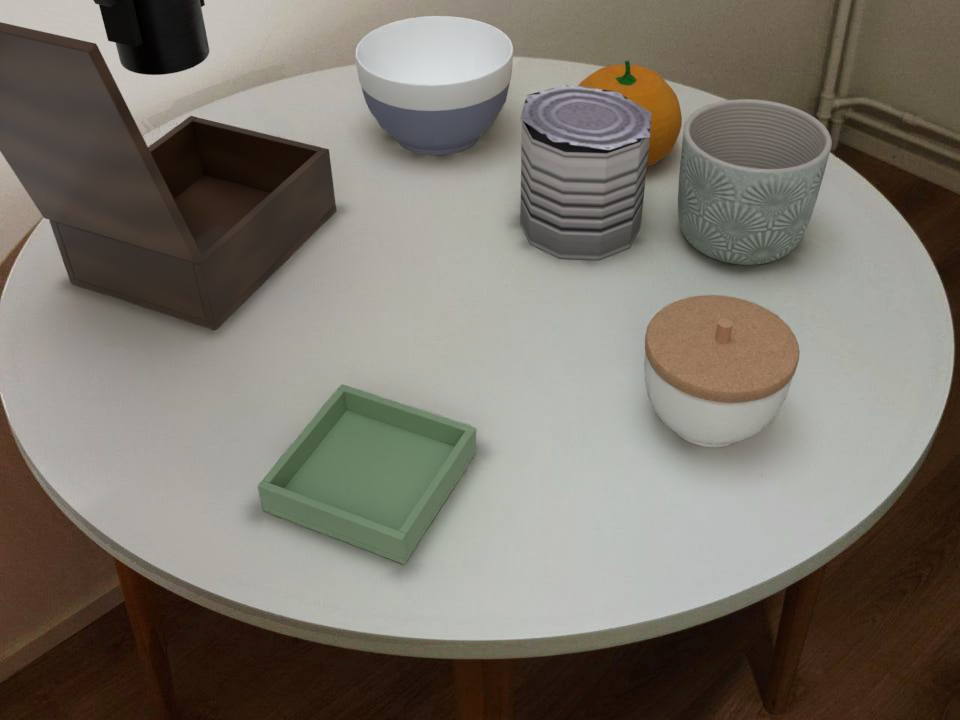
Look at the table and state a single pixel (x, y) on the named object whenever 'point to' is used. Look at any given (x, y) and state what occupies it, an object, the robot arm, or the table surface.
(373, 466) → the tray
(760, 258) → the planter
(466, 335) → the table surface
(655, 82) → the fruit
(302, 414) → the table surface
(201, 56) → the black canister
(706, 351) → the trinket box
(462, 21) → the bowl
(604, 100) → the can
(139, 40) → the robot arm
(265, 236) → the chest
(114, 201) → the lid
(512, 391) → the table surface
